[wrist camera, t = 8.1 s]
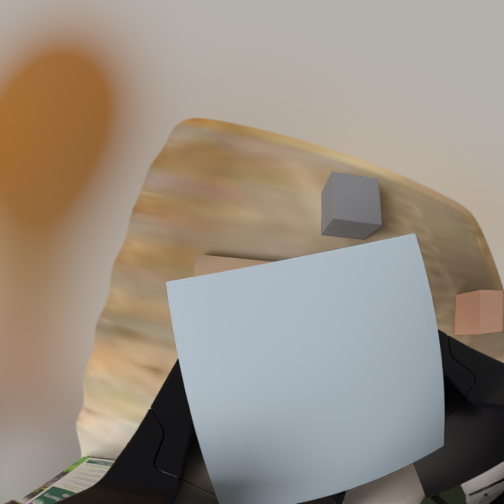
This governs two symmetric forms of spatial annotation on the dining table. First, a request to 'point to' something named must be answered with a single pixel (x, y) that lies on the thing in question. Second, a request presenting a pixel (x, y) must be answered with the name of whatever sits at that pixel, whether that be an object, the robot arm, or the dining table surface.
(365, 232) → the charcoal block
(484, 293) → the terracotta block
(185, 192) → the dining table surface
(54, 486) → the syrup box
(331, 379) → the slate block
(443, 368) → the robot arm
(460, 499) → the character mug
